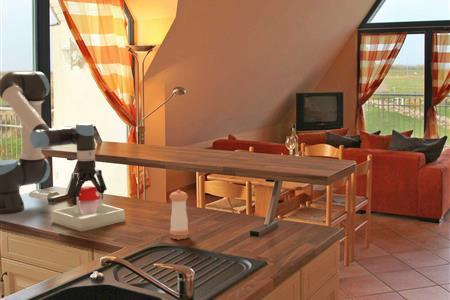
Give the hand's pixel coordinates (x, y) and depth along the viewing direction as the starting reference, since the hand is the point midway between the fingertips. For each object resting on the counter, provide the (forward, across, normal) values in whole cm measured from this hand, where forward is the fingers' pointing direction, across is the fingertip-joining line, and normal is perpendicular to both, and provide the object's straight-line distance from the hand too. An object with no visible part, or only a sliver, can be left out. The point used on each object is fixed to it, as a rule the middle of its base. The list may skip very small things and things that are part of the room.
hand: (88, 209), depth 251 cm
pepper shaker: (+6, +10, -47) cm, 49 cm away
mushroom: (+2, 0, 0) cm, 2 cm away
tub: (+5, 0, 0) cm, 5 cm away
